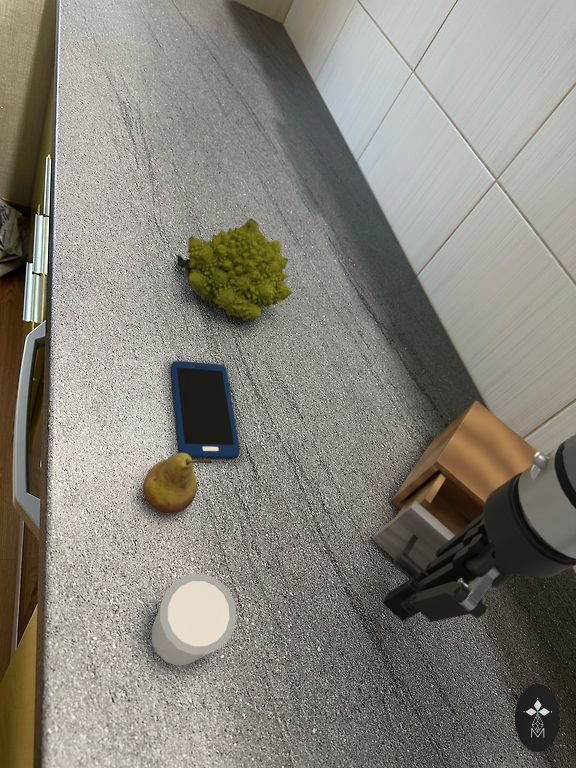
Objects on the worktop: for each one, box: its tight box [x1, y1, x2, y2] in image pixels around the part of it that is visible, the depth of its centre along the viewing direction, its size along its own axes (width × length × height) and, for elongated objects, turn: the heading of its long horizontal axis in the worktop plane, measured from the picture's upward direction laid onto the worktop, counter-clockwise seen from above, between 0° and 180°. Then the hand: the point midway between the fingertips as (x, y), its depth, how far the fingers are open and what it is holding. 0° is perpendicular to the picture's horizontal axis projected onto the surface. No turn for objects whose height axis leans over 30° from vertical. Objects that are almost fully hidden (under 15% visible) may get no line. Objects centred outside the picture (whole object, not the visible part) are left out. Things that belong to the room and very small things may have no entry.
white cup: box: [151, 573, 237, 666], centre depth 52 cm, size 7×7×7 cm
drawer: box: [372, 470, 484, 579], centre depth 67 cm, size 17×11×9 cm, turn 143°
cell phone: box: [170, 360, 241, 459], centre depth 71 cm, size 7×14×1 cm, turn 11°
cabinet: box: [390, 400, 540, 511], centre depth 74 cm, size 14×12×11 cm
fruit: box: [142, 452, 213, 515], centre depth 58 cm, size 6×6×12 cm
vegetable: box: [176, 217, 293, 322], centre depth 82 cm, size 15×16×15 cm
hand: (395, 606), depth 60 cm, fingers closed
